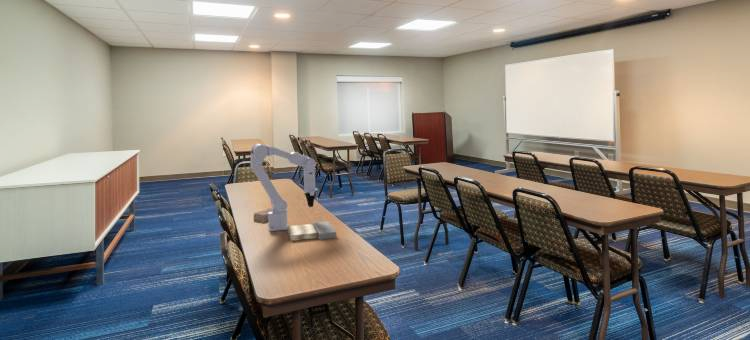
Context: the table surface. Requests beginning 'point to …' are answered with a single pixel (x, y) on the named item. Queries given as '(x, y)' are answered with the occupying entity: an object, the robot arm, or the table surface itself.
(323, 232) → the board
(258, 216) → the brick
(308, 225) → the cream flat slab
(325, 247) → the table surface
